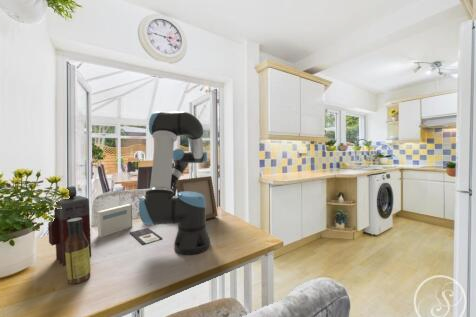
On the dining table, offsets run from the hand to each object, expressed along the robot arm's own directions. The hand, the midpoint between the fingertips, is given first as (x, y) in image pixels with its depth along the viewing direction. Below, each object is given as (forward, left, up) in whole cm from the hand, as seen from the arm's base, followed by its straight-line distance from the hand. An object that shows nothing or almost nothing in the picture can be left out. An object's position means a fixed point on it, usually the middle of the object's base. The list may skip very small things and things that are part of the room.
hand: (155, 204), depth 134 cm
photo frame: (-1, -25, -8) cm, 27 cm away
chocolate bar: (-28, -8, -9) cm, 30 cm away
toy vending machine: (-51, +10, -8) cm, 53 cm away
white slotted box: (-23, +10, -8) cm, 26 cm away
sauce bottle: (-63, -4, -8) cm, 64 cm away
